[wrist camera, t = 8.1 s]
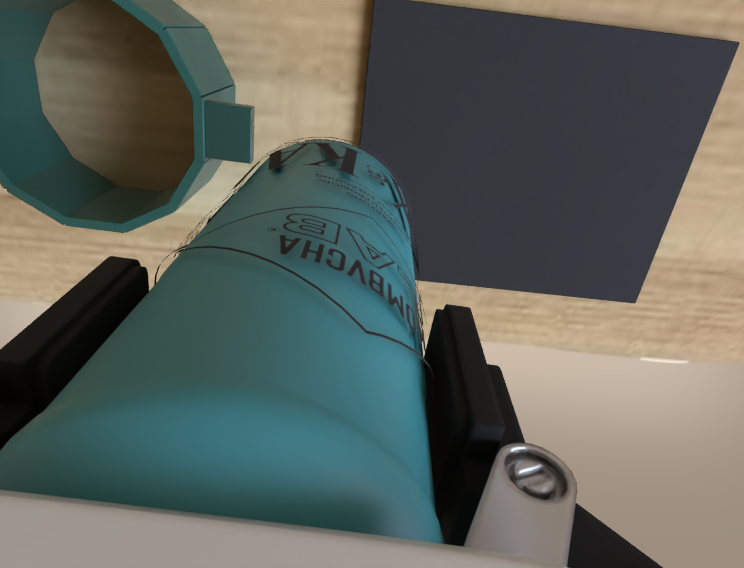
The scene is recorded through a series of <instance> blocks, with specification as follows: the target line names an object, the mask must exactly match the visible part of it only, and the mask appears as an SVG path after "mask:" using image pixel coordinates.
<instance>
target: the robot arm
mask: <svg viewBox="0 0 744 568" xmlns="http://www.w3.org/2000/svg"><path fill="white" fill-rule="evenodd" d="M148 292H149V283H148V272H147V269H146V268H145V267H141V266H140V263H139V261H138V260H135V259H128V258H121V257H115V256H110V257H108V258H107V259H106V260H105V261H103V262H102V263H101V264H100V265H99V266H98V267H96V268H95V269H94V270H93V271H92V272H91V273H89V274H88V275H87V276H86V277H85V278H84V279H82V280H81V281H80V282H79V283H78V284H77V285H75V286H74V287H73V288H72V289H71V290H70V291H68V292H67V293H66V294H65V295H64V296H63V297H61V298H60V299H59V300H58V301H57V302H55V303H54V304H53V305H52V306H51V307H50V308H48V309H47V310H46V311H45V312H44V313H43V314H41V315H40V316H39V317H38V318H37V319H36V320H34V321H33V322H32V323H31V324H30V325H29V326H27V327H26V328H25V329H24V330H23V331H22V332H20V333H19V334H18V335H17V336H16V337H15V338H13V339H12V340H11V341H10V342H9V343H7V344H6V345H5V346H4V347H3V348H2V349H0V450H1V449H2V448H3V447H4V446H5V444H6V443H7V442H8V441H9V440H10V438H12V437H13V436H14V435H15V434H16V433H17V432H19V431H20V430H21V429H22V428H23V427H24V426H26V425H27V424H28V423H29V422H30V421H31V420H33V419H34V418H35V417H36V416H37V415H39V414H40V413H42V412H43V411H44V410H45V409H46V408H47V407H48V406H49V405H50V404H51V402H52V401H53V400H54V399H55V398H56V397H57V396H58V394H59V393H60V392H61V391H62V390H63V389H64V388H65V387H66V385H67V384H68V383H69V382H70V381H71V380H72V379H73V377H74V376H75V375H76V374H77V373H78V372H79V371H80V369H81V368H82V367H83V366H84V365H85V364H86V363H87V362H88V360H89V359H90V358H91V357H92V356H93V355H94V354H95V352H96V351H97V350H98V349H99V348H100V347H101V346H102V345H103V343H104V342H105V341H106V340H107V339H108V338H109V337H110V335H111V334H112V333H113V332H114V331H115V330H116V329H117V328H118V326H119V325H120V324H121V323H122V322H123V321H124V320H125V318H126V317H127V316H128V315H129V314H130V313H131V312H132V310H133V309H134V308H135V307H136V306H137V305H138V304H139V303H140V301H141V300H142V299H143V298H144V297H145V296H146V295H147V293H148ZM429 353H430V367H431V369H430V368H429V367H428V365H427V364H426V363H425V361H424V369H425V380H426V392H427V394H426V411H427V422H428V433H429V444H430V455H431V466H432V477H433V488H434V499H435V510H436V516H437V519H438V521H439V524H440V528H441V531H442V535H443V539H444V544H440V543H433V542H426V541H419V540H412V539H405V538H397V537H389V536H381V535H373V534H365V533H357V532H349V531H341V530H333V529H325V528H318V527H310V526H302V525H294V524H286V523H278V522H270V521H261V520H253V519H245V518H237V517H228V516H220V515H212V514H204V513H195V512H187V511H179V510H170V509H162V508H153V507H145V506H137V505H128V504H120V503H112V502H103V501H94V500H85V499H77V498H68V497H59V496H50V495H42V494H33V493H24V492H16V491H7V490H0V568H663V567H661V566H660V565H659V564H657V563H656V562H655V561H653V560H652V559H651V558H649V557H648V556H646V555H645V554H644V553H642V552H641V551H640V550H638V549H637V548H636V547H635V546H633V545H631V544H630V543H629V542H628V541H626V540H625V539H624V538H622V537H621V536H620V535H618V534H617V533H616V532H614V531H613V530H612V529H610V528H609V527H608V526H606V525H605V524H603V523H602V522H601V521H599V520H598V519H597V518H595V517H594V516H593V515H592V514H590V513H589V512H588V511H586V510H585V509H584V508H582V507H581V506H579V505H578V504H577V503H576V497H577V482H576V480H575V478H574V475H573V473H572V472H571V470H570V469H569V468H568V467H567V465H566V464H565V463H564V462H563V461H562V460H561V459H559V458H558V457H557V456H556V455H554V454H553V453H551V452H549V451H548V450H545V449H544V448H542V447H539V446H536V445H533V444H528V443H525V441H524V438H523V435H522V432H521V429H520V426H519V423H518V420H517V417H516V414H515V411H514V408H513V405H512V402H511V398H510V395H509V392H508V390H507V387H506V383H505V380H504V378H503V374H502V371H501V369H500V367H498V366H496V365H489V364H487V363H486V360H485V356H484V353H483V349H482V346H481V343H480V339H479V336H478V332H477V329H476V326H475V322H474V319H473V315H472V312H471V309H470V308H469V307H462V306H455V305H448V304H446V305H445V307H444V310H441V309H437V310H436V312H435V315H434V319H433V323H432V327H431V331H430V335H429V339H428V344H427V348H426V353H425V356H424V359H425V360H426V362H427V363H428V364H429ZM431 370H432V372H431ZM432 373H433V375H432ZM433 376H434V378H433ZM433 384H434V389H433ZM432 389H433V392H432V394H431V391H432Z"/></svg>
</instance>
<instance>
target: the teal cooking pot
mask: <svg viewBox="0 0 744 568" xmlns="http://www.w3.org/2000/svg"><path fill="white" fill-rule="evenodd" d="M74 1H75V0H0V184H1V185H2V186H3V187H4V189H7V191H8V192H9V193H11V194H13V195H14V196H16V197H18V198H19V199H21V200H23V201H24V202H26V203H28V204H29V205H31V206H33V207H34V208H36V209H38V210H39V211H41V212H42V213H44V214H46V215H47V216H49V217H51V218H52V219H54V220H56V221H57V222H59V223H61V224H62V225H64V224H65V225H66V226H72V227H80V228H88V229H96V230H104V231H112V232H120V233H124V232H129V231H131V230H134V229H136V228H138V227H141V226H143V225H145V224H148V223H150V222H152V221H155V220H157V219H159V218H162V217H164V216H166V215H169V214H171V213H173V212H175V211H176V210H177V209H179V208H180V207H181V206H182V205H183V204H184V203H185V202H186V201H188V200H189V199H190V198H191V197H192V196H193V195H194V194H195V193H197V192H198V191H199V190H200V189H201V188H202V187H203V186H204V185H206V184H207V183H208V182H209V181H210V180H211V178H212V176H213V175H214V173H215V172H216V170H217V168H218V167H219V165H220V164H221V162H222V160H226V161H234V162H242V163H249V164H250V163H252V161H253V154H254V106H249V105H242V104H235V85H233V84H234V81H233V79H232V77H231V75H230V73H229V71H228V69H227V67H226V65H225V63H224V61H223V59H222V57H221V55H220V53H219V51H218V49H217V47H216V45H215V43H214V41H213V39H212V37H211V35H210V33H209V31H208V29H207V28H205V26H204V25H203V24H202V23H201V22H199V21H198V20H197V19H196V18H194V17H193V16H192V15H190V14H189V13H188V12H186V11H185V10H184V9H183V8H181V7H180V6H179V5H177V4H176V3H175V2H173V1H172V0H112V1H113V2H114V3H116V4H117V5H119V6H120V7H121V8H123V9H124V10H125V11H127V12H128V13H129V14H131V15H132V16H133V17H135V18H136V19H137V20H139V21H140V22H141V23H143V24H144V25H145V26H147V27H148V28H149V29H151V30H152V31H153V32H155V33H156V34H157V35H158V36H159V38H160V40H161V42H162V43H163V45H164V47H165V49H166V51H167V53H168V54H169V56H170V58H171V60H172V62H173V64H174V65H175V67H176V69H177V71H178V73H179V75H180V76H181V78H182V80H183V82H184V84H185V86H186V87H187V89H188V91H189V93H190V95H191V97H192V106H193V136H194V160H193V162H192V163H191V165H190V167H189V168H188V170H187V172H186V173H185V175H184V177H183V179H182V180H181V182H180V184H179V185H178V186H176V187H174V188H171V189H169V190H167V191H164V192H159V191H151V190H144V189H136V188H128V187H120V186H116V185H115V184H113V183H112V182H110V181H109V180H107V179H105V178H104V177H102V176H101V175H99V174H98V173H96V172H95V171H93V170H91V169H90V168H88V167H87V166H85V165H84V164H82V163H81V162H79V161H77V160H76V159H74V158H73V157H72V155H71V154H70V152H69V151H68V149H67V148H66V146H65V145H64V143H63V142H62V141H61V139H60V138H59V136H58V135H57V133H56V132H55V130H54V129H53V127H52V126H51V124H50V123H49V121H48V120H47V119H46V117H45V116H44V114H43V113H42V107H41V101H40V95H39V89H38V83H37V77H36V71H35V65H34V57H35V55H36V52H37V50H38V47H39V45H40V43H41V40H42V38H43V35H44V33H45V30H46V28H47V25H48V23H49V21H50V18H51V16H52V13H53V12H55V11H57V10H59V9H61V8H63V7H64V6H66V5H68V4H70V3H72V2H74Z"/></svg>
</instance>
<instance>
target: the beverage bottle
mask: <svg viewBox="0 0 744 568" xmlns="http://www.w3.org/2000/svg"><path fill="white" fill-rule="evenodd" d="M309 138H313V137H309ZM330 138H332V137H330ZM302 139H304V138H302ZM336 139H338V138H336ZM298 140H299V139H298ZM342 140H343V139H342ZM294 141H295V140H294ZM345 141H347V140H345ZM291 142H292V141H291ZM298 142H299V141H298ZM298 142H296V144H293V143H295V142H293V143H291V144H293V145H290V144H288V145H290V146H288V147H286V148H283V149H280V150H278V151H276V152H274V153H272V154H270V158H268V159H267V160H266V161H265V162H264V163H263V164H262V165H261V166H260V167H259V168H258V169H257V170H256V171H255V173H254V174H253V175H252V176H251V177H250V178H249V179H248V180H247V181H246V182H245V183H244V185H243V186H242V187H240V189H239V188H238V189H239V190H238V191H237V192H236V193H235V192H234V191H236V190H234V191H233V192H234V193H235V194H233V195H232V196H231V197H230V198H229V199H228V200H227V201H226V202H225V203H223V206H222V207H221V208H220V209H219V210H218V211H217V212H216V213H215V214H214V215H213V216H212V217H211V219H210V218H209V220H208V222H207V225H206V226H205V227H204V228H203V229H202V230H201V232H200V233H199V234H198V235H196V236H195V238H194V239H193V240H192V241H190V244H188V245H186V244H187V242H186V241H185V242H186V244H185V246H183V247H181V248H178V249H177V250H175V251H178V250H179V249H181V250H180V251H178V252H180V253H179V254H180V255H179V256H178V257H177V258H176V259H175V260H174V261H173V262H172V264H171V265H170V266H169V267H168V268H167V269H166V271H165V272H164V273H163V274H162V276H161V277H160V279H159V281H158V282H157V283H156V275H157V272H158V269H159V267H158V269H157V272H156V275H155V284H154V287H153V288H152V289H151V290H150V291H149V292H148V293H147V295H146V296H145V297H144V298H143V299H142V300H141V301H140V303H139V304H138V305H137V306H136V307H135V308H134V309H133V310H132V312H131V313H130V314H129V315H128V316H127V317H126V318H125V320H124V321H123V322H122V323H121V324H120V325H119V326H118V328H117V329H116V330H115V331H114V332H113V333H112V334H111V335H110V337H109V338H108V339H107V340H106V341H105V342H104V343H103V345H102V346H101V347H100V348H99V349H98V350H97V351H96V352H95V354H94V355H93V356H92V357H91V358H90V359H89V360H88V362H87V363H86V364H85V365H84V366H83V367H82V368H81V369H80V371H79V372H78V373H77V374H76V375H75V376H74V377H73V379H72V380H71V381H70V382H69V383H68V384H67V385H66V387H65V388H64V389H63V390H62V391H61V392H60V393H59V394H58V396H57V397H56V398H55V399H54V400H53V401H52V402H51V404H50V405H49V406H48V407H47V408H46V409H45V410H44V411H43V412H42V413H40V414H39V415H37V416H36V417H35V418H34V419H33V420H31V421H30V422H29V423H28V424H27V425H26V426H24V427H23V428H22V429H21V430H20V431H19V432H17V433H16V434H15V435H14V436H13V437H12V438H10V440H9V441H8V442H7V443H6V444H5V446H4V447H3V448H2V449H1V450H0V490H7V491H16V492H24V493H33V494H42V495H50V496H59V497H68V498H77V499H85V500H94V501H103V502H112V503H120V504H128V505H137V506H145V507H153V508H162V509H170V510H179V511H187V512H195V513H204V514H212V515H220V516H228V517H237V518H245V519H253V520H261V521H270V522H278V523H286V524H294V525H302V526H310V527H318V528H325V529H333V530H341V531H349V532H357V533H365V534H373V535H381V536H389V537H397V538H405V539H412V540H419V541H426V542H433V543H440V544H444V539H443V535H442V531H441V528H440V524H439V521H438V519H437V516H436V510H435V499H434V488H433V477H432V466H431V455H430V444H429V433H428V422H427V411H426V394H427V392H426V380H425V369H424V361H425V363H426V364H427V365H428V367H429V368H430V369H431V367H430V353H429V364H428V363H427V362H426V360H425V359H424V357H423V350H422V342H423V344H424V350H425V341H424V333H423V329H422V333H421V328H420V324H421V326H422V325H423V320H422V322H421V318H422V312H421V318H420V317H419V315H420V314H419V313H418V311H419V310H418V304H419V303H417V296H418V295H417V294H416V293H417V292H416V288H417V286H416V283H415V275H414V266H413V256H414V260H415V263H416V267H417V270H418V278H419V263H418V254H417V261H416V257H415V253H414V246H413V252H412V247H411V243H412V242H411V237H410V232H411V234H412V237H413V239H414V235H413V232H412V228H411V225H410V221H409V217H408V211H407V207H408V208H410V206H409V204H410V203H409V204H406V202H405V199H404V196H403V194H402V191H401V189H400V187H399V185H398V184H397V182H396V180H395V179H394V177H395V176H394V175H393V176H394V177H393V176H392V175H391V173H390V172H391V171H390V170H389V169H388V170H389V171H390V172H389V171H388V170H387V169H386V168H385V167H386V166H385V165H384V166H385V167H384V166H383V163H382V164H381V162H380V161H379V160H377V159H375V157H373V156H372V155H371V154H369V153H368V152H365V150H362V149H359V148H358V147H356V146H353V145H350V144H346V143H343V142H341V141H340V142H339V141H335V140H328V139H325V140H323V139H318V140H316V139H313V140H311V141H310V140H305V142H300V143H298ZM348 142H350V141H348ZM288 143H289V142H288ZM352 143H353V142H352ZM285 144H286V143H285ZM355 144H356V143H355ZM357 145H358V144H357ZM359 146H360V145H359ZM361 147H362V146H361ZM279 148H280V147H279ZM279 148H278V149H279ZM363 148H364V147H363ZM365 149H366V148H365ZM367 150H368V149H367ZM274 151H275V150H274ZM368 151H369V150H368ZM270 152H271V151H270ZM370 152H371V151H370ZM373 154H374V153H373ZM267 155H268V154H267ZM375 155H376V154H375ZM268 156H269V155H268ZM376 156H377V155H376ZM266 157H267V156H266ZM377 157H378V156H377ZM262 158H264V157H262ZM381 160H382V159H381ZM382 161H383V160H382ZM259 162H260V161H259ZM259 162H257V164H258V163H259ZM383 162H384V161H383ZM257 164H256V165H257ZM256 165H255V166H256ZM255 166H254V167H255ZM254 167H253V168H252V169H250V171H248V173H247V174H246V175H245V176H244V177H243V178H242V179H241V180H240V181H239V182H238V183H237V184H236V185H235V186H234V187H235V188H236V187H237V186H238V184H240V183H242V182H244V181H242V180H243V179H244V178H245V177H247V175H248V174H249V173H250V172H251V171H252V170H253V169H254ZM388 167H389V166H388ZM389 168H390V167H389ZM390 169H391V168H390ZM391 170H392V169H391ZM392 171H393V170H392ZM392 174H393V173H392ZM395 175H396V174H395ZM396 176H397V175H396ZM395 178H396V177H395ZM396 179H397V178H396ZM398 179H399V178H398ZM241 181H242V182H241ZM400 182H401V181H400ZM400 182H399V184H400ZM242 184H243V183H242ZM401 184H402V183H401ZM240 185H241V184H240ZM234 187H233V188H234ZM233 188H232V189H233ZM235 188H234V189H235ZM236 189H237V188H236ZM402 189H403V188H402ZM404 189H405V188H404ZM403 191H404V190H403ZM227 194H228V193H227ZM230 194H231V193H230ZM405 194H406V193H405ZM228 195H229V194H228ZM228 195H227V196H228ZM407 196H408V195H407ZM407 196H406V197H407ZM228 197H229V196H228ZM228 197H227V198H228ZM224 198H225V197H224ZM227 198H225V199H227ZM225 199H224V200H225ZM407 199H408V198H407ZM407 199H406V200H407ZM224 200H222V201H224ZM222 201H221V202H222ZM408 202H409V200H408ZM219 207H220V206H219ZM216 209H217V208H216ZM410 210H411V209H410ZM411 211H412V210H411ZM211 212H212V211H210V213H211ZM208 214H209V213H208ZM208 214H207V215H208ZM411 214H412V213H411ZM207 215H206V216H207ZM412 218H413V217H412ZM202 220H203V219H202ZM202 220H201V221H202ZM200 223H201V222H200ZM200 223H198V224H200ZM200 227H201V226H200ZM200 227H199V228H200ZM196 230H197V229H196ZM193 231H194V230H193ZM198 231H199V230H198ZM198 231H197V233H198ZM192 233H193V232H192ZM192 233H190V234H192ZM197 233H196V234H197ZM414 233H415V231H414ZM190 234H188V235H190ZM188 235H187V236H188ZM190 236H191V235H190ZM187 238H188V237H187ZM189 238H190V237H189ZM189 238H188V240H189ZM192 238H193V236H192ZM192 238H191V239H192ZM188 240H187V241H188ZM415 241H416V239H415ZM415 241H414V242H415ZM412 244H413V243H412ZM180 246H181V245H180ZM186 246H187V247H186ZM185 247H186V248H185ZM183 248H185V249H183ZM182 249H183V250H182ZM175 251H173V252H175ZM181 251H182V252H181ZM173 252H172V253H173ZM178 252H177V253H178ZM415 252H417V246H416V244H415ZM412 255H413V256H412ZM168 256H169V255H168ZM168 256H167V257H168ZM175 256H176V253H175ZM175 256H174V257H175ZM163 261H164V260H163ZM417 264H418V265H417ZM160 265H161V264H160ZM160 265H159V266H160ZM417 285H418V283H417ZM417 290H418V289H417ZM418 293H419V292H418ZM418 298H420V294H419V297H418ZM420 299H421V298H420ZM419 301H421V300H419ZM421 302H422V301H421ZM419 307H420V311H421V304H420V306H419ZM423 310H424V309H423ZM424 315H425V314H424ZM419 318H420V322H421V323H420V322H419ZM425 319H426V318H425ZM426 324H427V323H426ZM427 331H428V330H427ZM425 353H426V350H425ZM431 372H432V370H431ZM432 375H433V373H432ZM433 378H434V376H433ZM433 389H434V384H433ZM433 389H432V391H431V394H432V392H433Z"/></svg>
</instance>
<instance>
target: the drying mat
mask: <svg viewBox="0 0 744 568" xmlns="http://www.w3.org/2000/svg"><path fill="white" fill-rule="evenodd" d="M738 46H739V42H734V41H726V40H718V39H710V38H702V37H694V36H686V35H679V34H671V33H663V32H655V31H647V30H639V29H631V28H623V27H615V26H607V25H599V24H591V23H583V22H576V21H568V20H560V19H552V18H544V17H536V16H528V15H520V14H512V13H504V12H496V11H488V10H480V9H473V8H465V7H457V6H449V5H441V4H433V3H425V2H417V1H409V0H374V3H373V13H372V23H371V33H370V44H369V54H368V64H367V74H366V85H365V95H364V105H363V115H362V126H361V136H360V146H359V149H362V150H365V152H368V153H369V154H371V155H372V156H373V157H375V159H377V160H379V161H380V162H381V164H382V163H383V166H384V165H385V166H386V167H385V166H384V167H385V168H386V169H387V170H388V169H389V170H390V171H391V172H390V171H389V170H388V171H389V172H390V173H391V175H392V176H393V175H394V176H395V177H396V178H397V179H396V178H395V177H394V176H393V177H394V179H395V180H396V182H397V184H398V185H399V187H400V189H401V191H402V194H403V196H404V199H405V202H406V204H409V203H410V204H409V206H410V208H408V207H407V211H408V217H409V221H410V225H411V228H412V232H413V235H414V239H413V237H412V234H411V232H410V237H411V242H412V243H413V244H412V243H411V247H412V252H413V246H414V253H415V257H416V261H417V254H418V263H419V278H418V270H417V267H416V263H415V260H414V256H413V255H412V256H413V266H414V275H415V280H420V281H429V282H439V283H448V284H458V285H467V286H476V287H486V288H495V289H505V290H514V291H524V292H533V293H542V294H552V295H561V296H571V297H580V298H589V299H599V300H608V301H618V302H627V303H636V300H637V298H638V295H639V293H640V290H641V288H642V285H643V283H644V280H645V278H646V275H647V273H648V270H649V268H650V265H651V263H652V260H653V258H654V255H655V253H656V250H657V248H658V245H659V243H660V240H661V238H662V235H663V233H664V231H665V228H666V226H667V223H668V221H669V218H670V216H671V213H672V211H673V208H674V206H675V203H676V201H677V198H678V196H679V193H680V191H681V188H682V186H683V183H684V181H685V178H686V176H687V173H688V171H689V168H690V166H691V163H692V161H693V158H694V156H695V153H696V151H697V148H698V146H699V143H700V141H701V138H702V136H703V133H704V131H705V128H706V126H707V123H708V121H709V118H710V116H711V113H712V111H713V108H714V106H715V103H716V101H717V98H718V96H719V93H720V91H721V88H722V86H723V83H724V81H725V78H726V76H727V73H728V71H729V68H730V66H731V63H732V61H733V58H734V56H735V53H736V51H737V48H738ZM361 146H362V147H361ZM363 147H364V148H363ZM365 148H366V149H365ZM367 149H368V150H369V151H368V150H367ZM370 151H371V152H370ZM373 153H374V154H373ZM375 154H376V155H377V156H378V157H377V156H376V155H375ZM381 159H382V160H383V161H384V162H383V161H382V160H381ZM388 166H389V167H390V168H391V169H392V170H393V171H392V170H391V169H390V168H389V167H388ZM392 173H393V174H392ZM395 174H396V175H397V176H396V175H395ZM398 178H399V179H398ZM400 181H401V182H400ZM399 182H400V184H399ZM401 183H402V184H401ZM402 188H403V189H402ZM404 188H405V189H404ZM403 190H404V191H403ZM405 193H406V194H405ZM407 195H408V196H407ZM406 196H407V197H406ZM407 198H408V199H407ZM406 199H407V200H406ZM408 200H409V202H408ZM410 209H411V210H412V211H411V210H410ZM411 213H412V214H411ZM412 217H413V218H412ZM414 231H415V233H414ZM415 239H416V241H415ZM414 241H415V242H414ZM415 244H416V246H417V252H415ZM417 265H418V264H417Z"/></svg>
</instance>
